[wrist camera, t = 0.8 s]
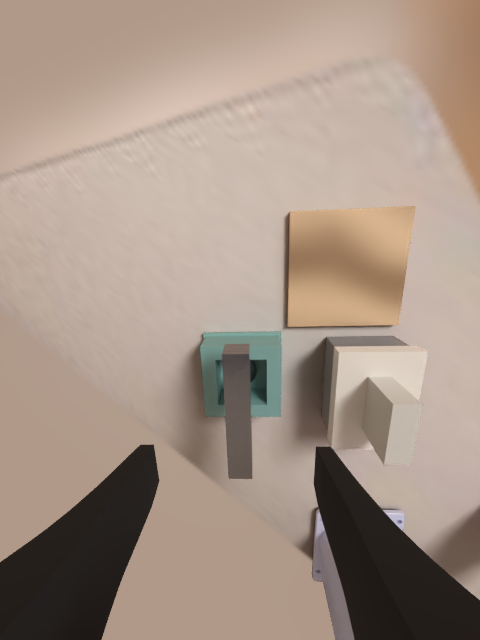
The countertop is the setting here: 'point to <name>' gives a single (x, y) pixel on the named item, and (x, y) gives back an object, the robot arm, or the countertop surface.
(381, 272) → the cork mat
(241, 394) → the t key
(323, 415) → the box
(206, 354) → the key socket
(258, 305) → the countertop surface
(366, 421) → the cover
